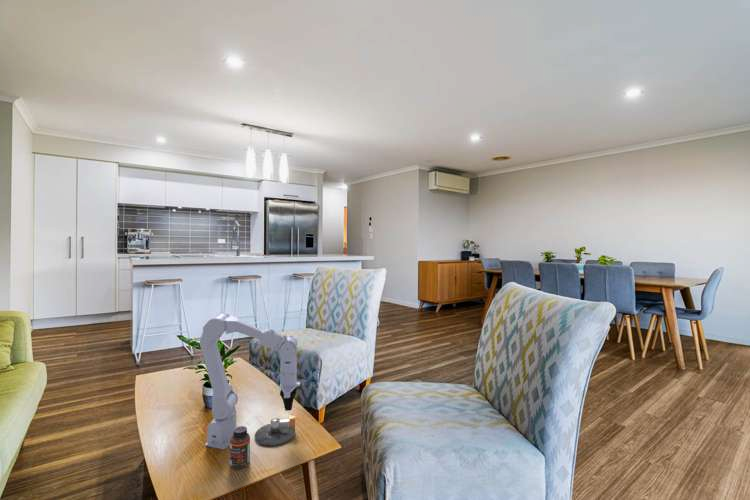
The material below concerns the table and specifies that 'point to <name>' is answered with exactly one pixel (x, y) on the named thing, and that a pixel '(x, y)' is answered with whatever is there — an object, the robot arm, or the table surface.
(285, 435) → the plate
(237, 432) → the supplement bottle
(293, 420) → the crank
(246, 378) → the table surface
